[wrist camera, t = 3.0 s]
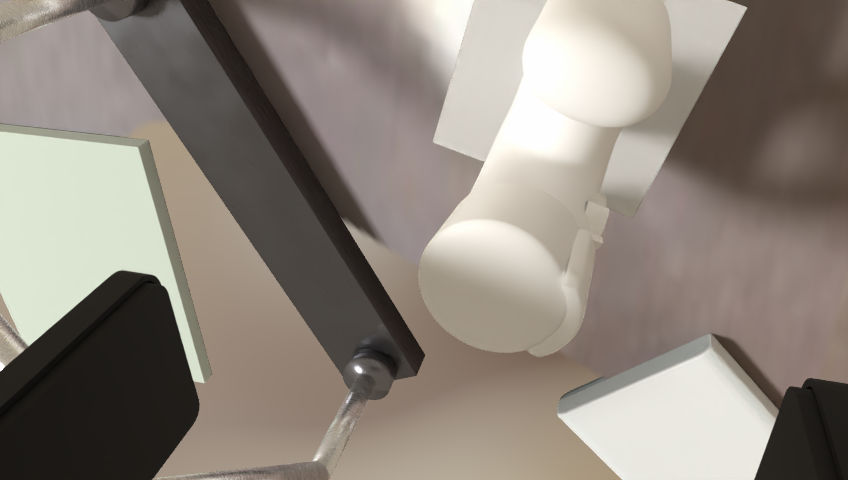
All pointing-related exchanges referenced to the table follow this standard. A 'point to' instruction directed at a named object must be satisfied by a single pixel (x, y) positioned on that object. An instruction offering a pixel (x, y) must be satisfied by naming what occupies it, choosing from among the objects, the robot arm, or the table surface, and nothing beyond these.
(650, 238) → the table surface
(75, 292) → the mat
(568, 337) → the figurine
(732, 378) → the external hard drive
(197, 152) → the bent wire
